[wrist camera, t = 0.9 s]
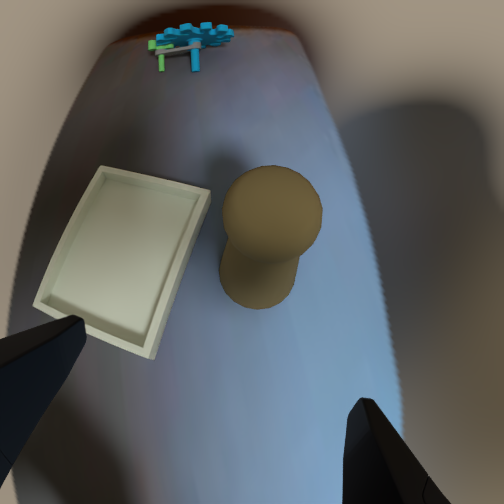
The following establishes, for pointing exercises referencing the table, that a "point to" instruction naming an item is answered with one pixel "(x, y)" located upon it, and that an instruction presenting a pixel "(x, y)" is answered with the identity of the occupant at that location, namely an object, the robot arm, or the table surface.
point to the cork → (267, 234)
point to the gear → (188, 41)
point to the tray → (124, 257)
